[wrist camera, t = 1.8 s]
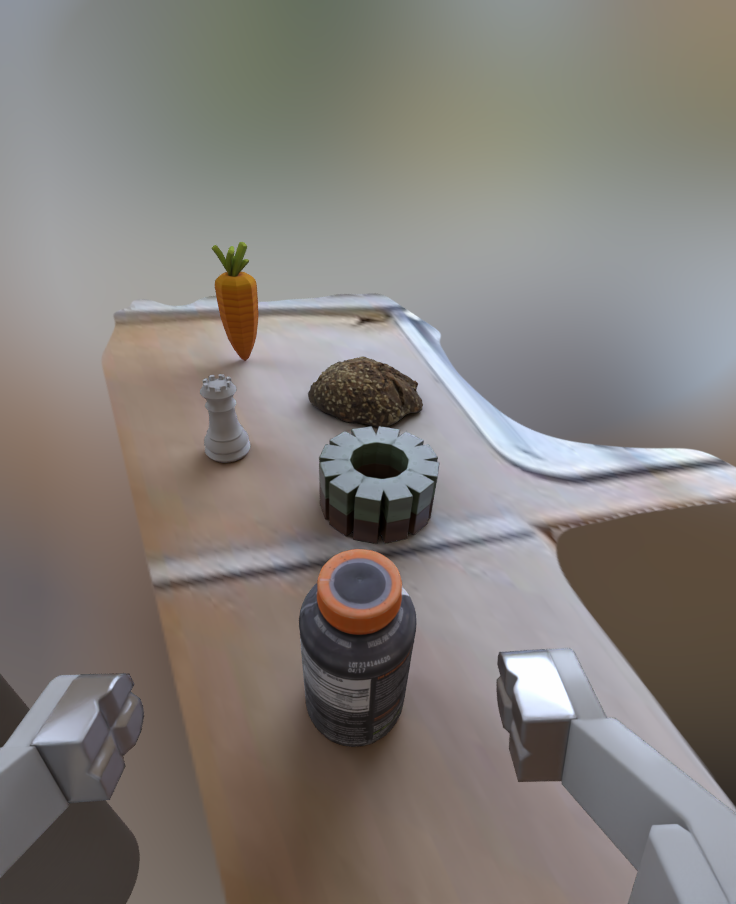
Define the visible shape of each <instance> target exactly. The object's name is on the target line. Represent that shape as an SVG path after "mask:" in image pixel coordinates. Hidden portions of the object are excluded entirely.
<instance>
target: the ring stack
mask: <svg viewBox="0 0 736 904" xmlns="http://www.w3.org/2000/svg"><path fill="white" fill-rule="evenodd" d="M399 432H400V430H399V429H393V428H387V427H380V426H379V427H378V430H377V433H375V431H374V430H373V428H372V427H364V428H357V429H352V430H351V434H349V433H347V432H343V433H341V434H339V435H338V436H336V437H334V438H332V439H331V440H330V445H328V444H326V445H325V447H324V449H323V451H322V453H321V455H320V457H319V480H320V506H321V508H322V511H323V514H324V517H325V519H329V524H330V525H331V526H332V527H334V528H335V529H337V530H338V531H339V532H341V533H342V534H344V535H345V536H347V535H348V534H350V533H351V532H352V531H354V533H353V539H354V540H359V541H365V542H370V543H375V544H377V541H378V537H379V533H380V534H381V536H382V538H383V540H384V542H385V543H389V542H394V541H398V540H403V539H406V538H407V534H408V532H409V533H411V534H412V535H414V534H416V533H417V532H418V531H419V530H420V529H421V528H422V527H423V526H425V525H426V524H427V521H428V518H430V517H431V511H432V505H433V500H434V494H435V488H436V483H437V477H438V470H439V462H437V459H438V457H437V456H436V454H435V453H434V451H433V450H432V449H431V447H430V446H429V445H423V442H424V440H422V439H420V438H418V437H416V436H414V435H412V434H410V433H408V432H405V433H403V434H402V435H400V436H399Z"/></svg>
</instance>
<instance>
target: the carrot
mask: <svg viewBox="0 0 736 904" xmlns="http://www.w3.org/2000/svg"><path fill="white" fill-rule="evenodd" d="M246 249H247V245H246V244H245V243H244V242H240V243H239V245H238V248H237V251H236V254H235V256H234V247H233V246H231V247H230V248H229V250H228V253H227V256H226V259H225V257H224V255H223V253H222V252H221V250H220V249H219V248H218V247H217V246H216V245H214V246H213V247H212V250H213V251H214V252H215V253H216V255H217V256H218V258H219V260H220V261H221V263H222V264H223V266H224V268H225V269H226V271H227V272H225V273H223V274H221V275H220V276H219V277H218V278H217V279H216V280H215V290H216V296H217V302H218V307H219V311H220V316H221V320H222V323H223V326H224V329H225V331H226V334H227V337H228V339H229V341H230V343H231V345H232V346H233V348H234V350H235V351H236V352H237V354H238V355H239V357H240V358H242V359H243V360H244V361H246V360H247V359H248V358H249V356H250V354H251V351H252V349H253V346H254V343H255V339H256V334H257V325H258V298H257V285H256V281H255V279H254V278H253V277H252V276H250V275H249V274H247V273H245V272H241V270H242V269H243V268H244V267H245V266H246V265H247V263H248V262H249V260H248V259H244V260H243V257H244V254H245V252H246ZM242 260H243V261H242Z"/></svg>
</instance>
